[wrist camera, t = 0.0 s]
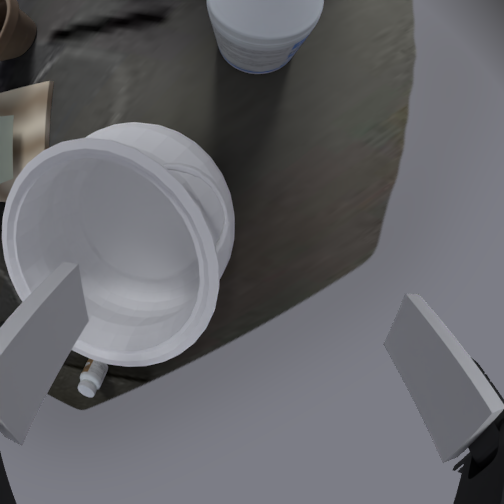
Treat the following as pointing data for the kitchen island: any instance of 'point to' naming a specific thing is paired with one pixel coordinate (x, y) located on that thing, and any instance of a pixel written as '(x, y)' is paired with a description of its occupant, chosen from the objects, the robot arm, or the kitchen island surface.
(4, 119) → the cube with orange handle
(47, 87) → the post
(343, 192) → the kitchen island surface
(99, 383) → the pill bottle
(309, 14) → the supplement tub
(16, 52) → the flower pot
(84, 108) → the kitchen island surface
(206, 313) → the pot
